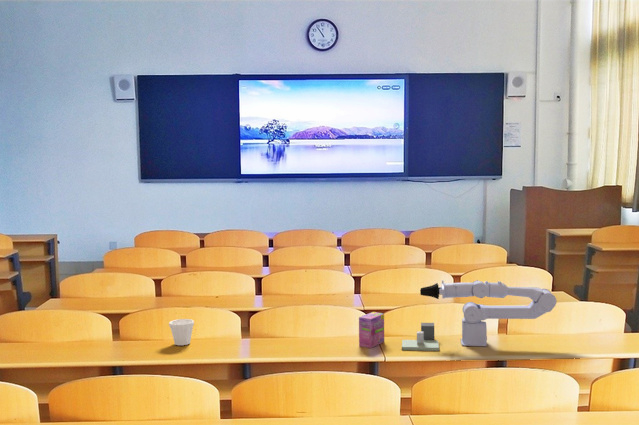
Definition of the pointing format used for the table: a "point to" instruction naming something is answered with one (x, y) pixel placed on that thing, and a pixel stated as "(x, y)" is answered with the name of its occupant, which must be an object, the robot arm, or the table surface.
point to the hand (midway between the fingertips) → (420, 291)
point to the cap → (428, 330)
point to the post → (420, 338)
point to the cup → (181, 331)
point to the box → (371, 329)
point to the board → (412, 345)
